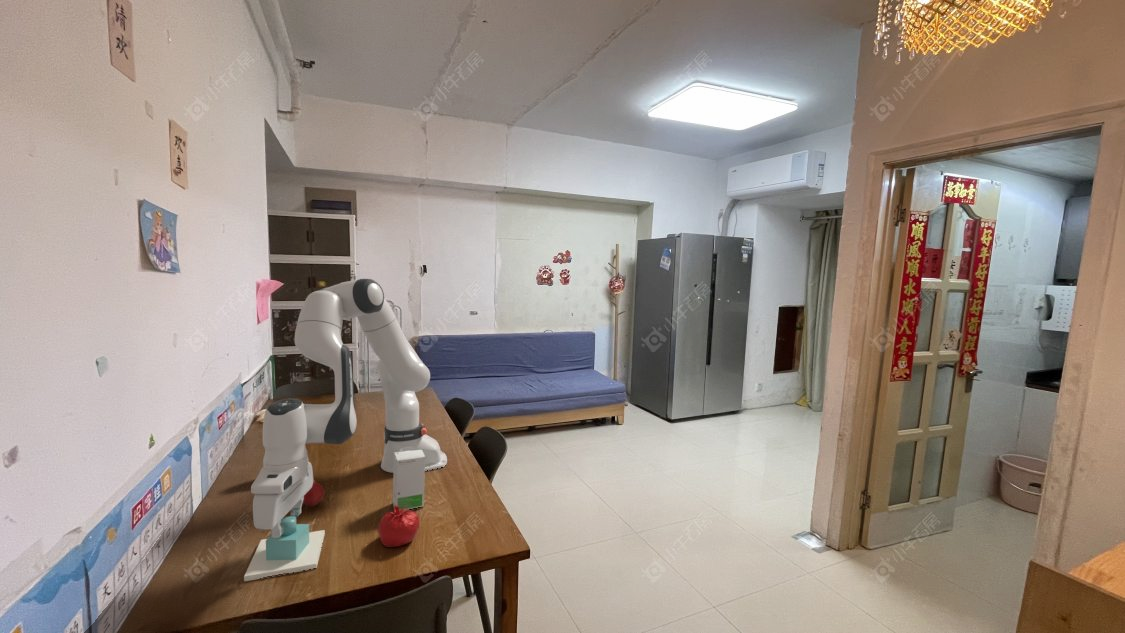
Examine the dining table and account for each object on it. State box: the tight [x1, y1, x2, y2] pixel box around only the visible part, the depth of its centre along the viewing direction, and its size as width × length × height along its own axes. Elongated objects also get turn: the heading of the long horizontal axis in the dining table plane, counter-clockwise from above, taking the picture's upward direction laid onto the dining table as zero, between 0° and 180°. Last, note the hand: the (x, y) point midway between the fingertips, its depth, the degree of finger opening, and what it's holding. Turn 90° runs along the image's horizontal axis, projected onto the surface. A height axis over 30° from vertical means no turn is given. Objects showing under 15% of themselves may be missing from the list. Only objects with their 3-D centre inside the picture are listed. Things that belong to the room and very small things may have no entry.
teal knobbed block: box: [266, 515, 310, 560], centre depth 106 cm, size 7×7×8 cm
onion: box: [302, 479, 325, 507], centre depth 128 cm, size 6×6×8 cm
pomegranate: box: [377, 505, 420, 548], centre depth 114 cm, size 10×10×9 cm
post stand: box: [243, 529, 326, 582], centre depth 106 cm, size 14×14×5 cm
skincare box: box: [392, 450, 426, 510], centre depth 130 cm, size 8×7×16 cm
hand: (287, 525), depth 105 cm, fingers open, 7 cm apart
